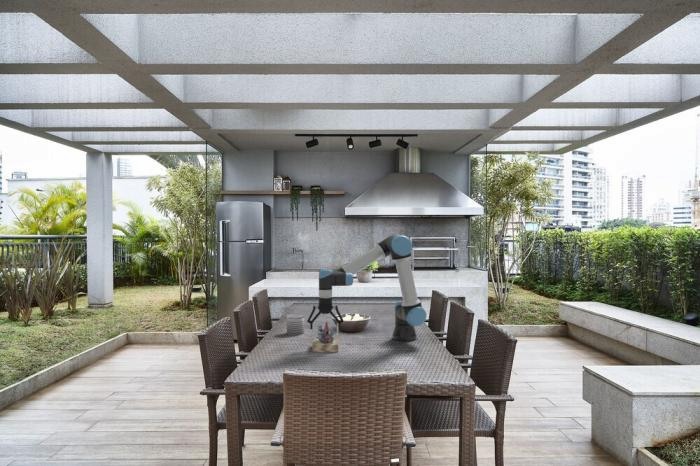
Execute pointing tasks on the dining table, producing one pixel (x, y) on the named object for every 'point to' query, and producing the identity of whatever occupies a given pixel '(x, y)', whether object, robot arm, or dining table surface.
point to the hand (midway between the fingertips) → (325, 335)
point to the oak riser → (325, 346)
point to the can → (295, 324)
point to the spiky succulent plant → (325, 334)
